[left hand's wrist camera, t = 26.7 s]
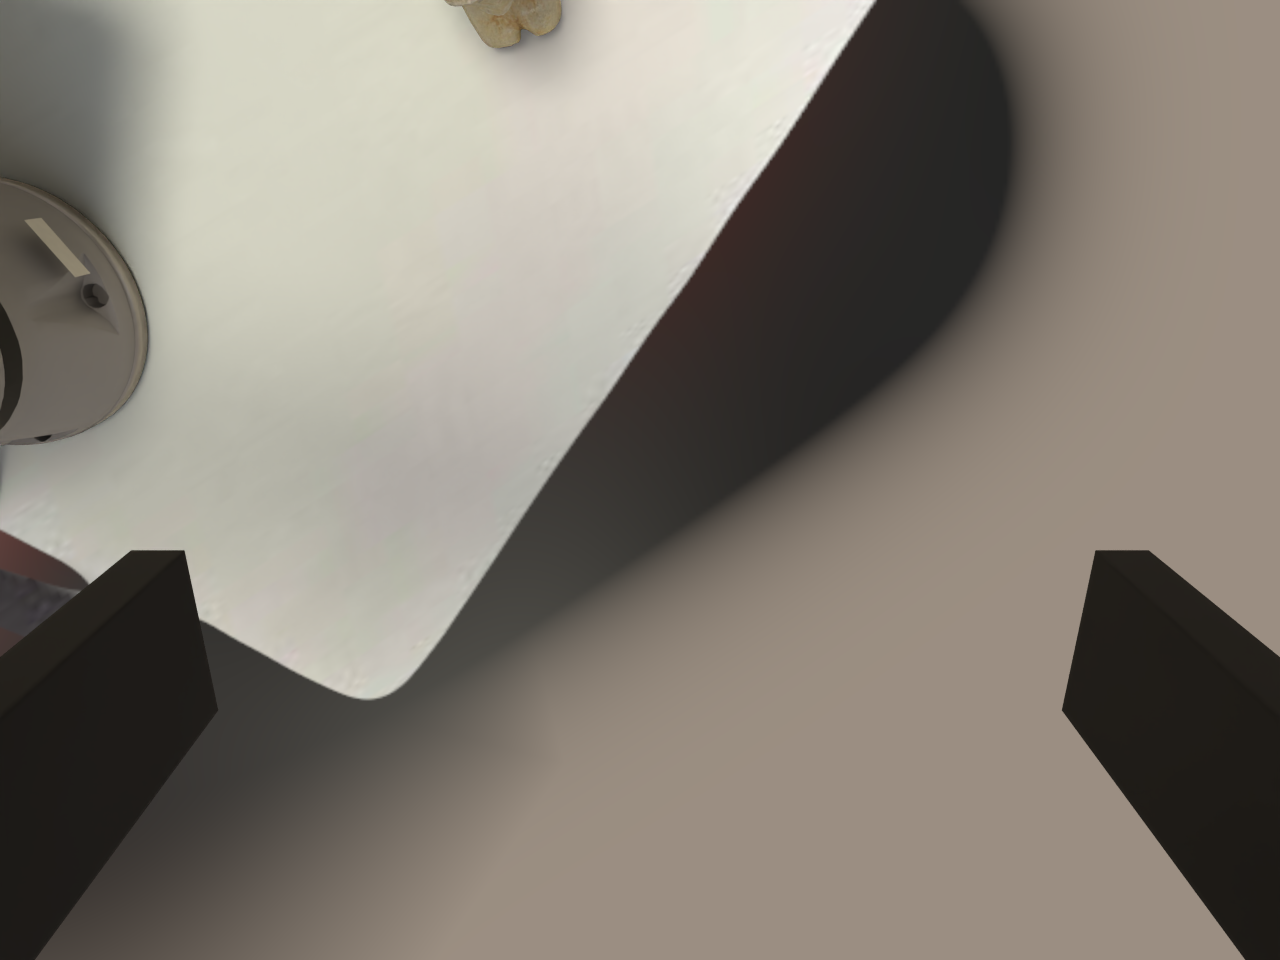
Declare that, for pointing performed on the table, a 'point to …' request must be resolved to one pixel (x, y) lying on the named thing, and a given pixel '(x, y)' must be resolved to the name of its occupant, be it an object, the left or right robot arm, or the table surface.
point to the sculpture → (510, 18)
